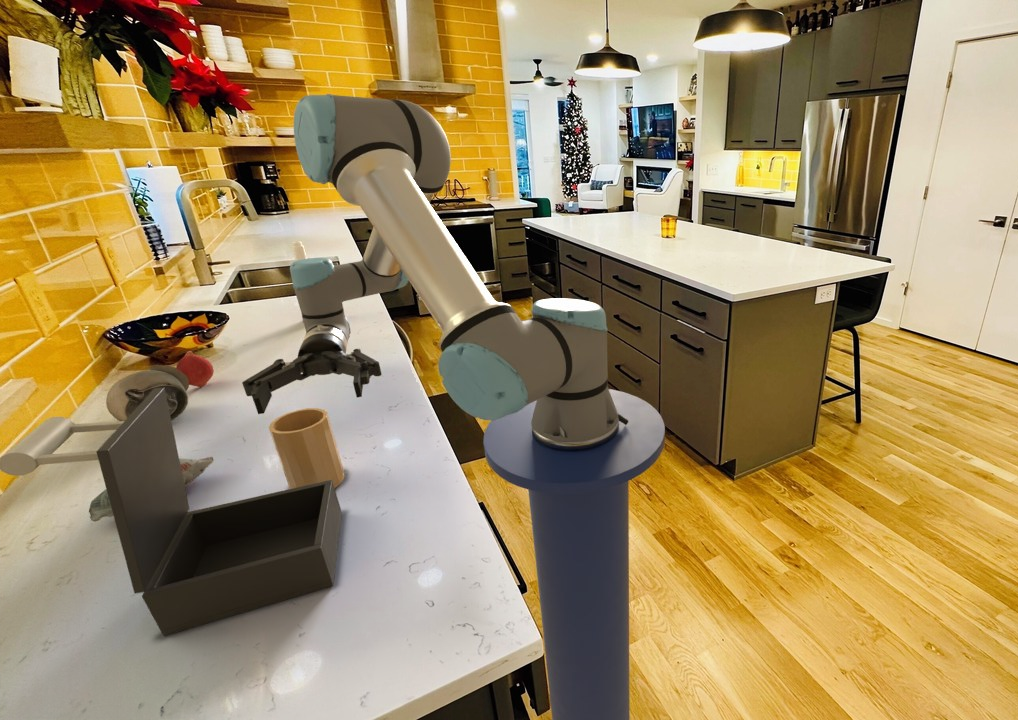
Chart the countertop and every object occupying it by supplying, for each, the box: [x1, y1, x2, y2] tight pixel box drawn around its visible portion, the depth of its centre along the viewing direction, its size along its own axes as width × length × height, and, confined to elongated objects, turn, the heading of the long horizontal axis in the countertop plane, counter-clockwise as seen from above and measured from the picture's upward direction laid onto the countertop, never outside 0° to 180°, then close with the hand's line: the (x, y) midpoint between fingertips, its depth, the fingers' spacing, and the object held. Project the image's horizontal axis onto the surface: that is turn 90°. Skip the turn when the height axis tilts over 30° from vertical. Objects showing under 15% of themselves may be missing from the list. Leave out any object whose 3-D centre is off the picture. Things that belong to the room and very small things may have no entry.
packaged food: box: [88, 456, 215, 523], centre depth 71 cm, size 9×12×5 cm
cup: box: [268, 407, 346, 489], centre depth 74 cm, size 7×7×11 cm
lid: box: [0, 388, 190, 594], centre depth 51 cm, size 16×14×9 cm
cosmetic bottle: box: [291, 241, 308, 261], centre depth 140 cm, size 6×6×22 cm
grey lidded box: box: [141, 480, 343, 637], centre depth 60 cm, size 16×14×6 cm
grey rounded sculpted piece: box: [105, 364, 190, 422], centre depth 89 cm, size 10×12×10 cm
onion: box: [175, 350, 215, 388], centre depth 103 cm, size 6×6×8 cm
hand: (309, 398), depth 80 cm, fingers open, 13 cm apart
